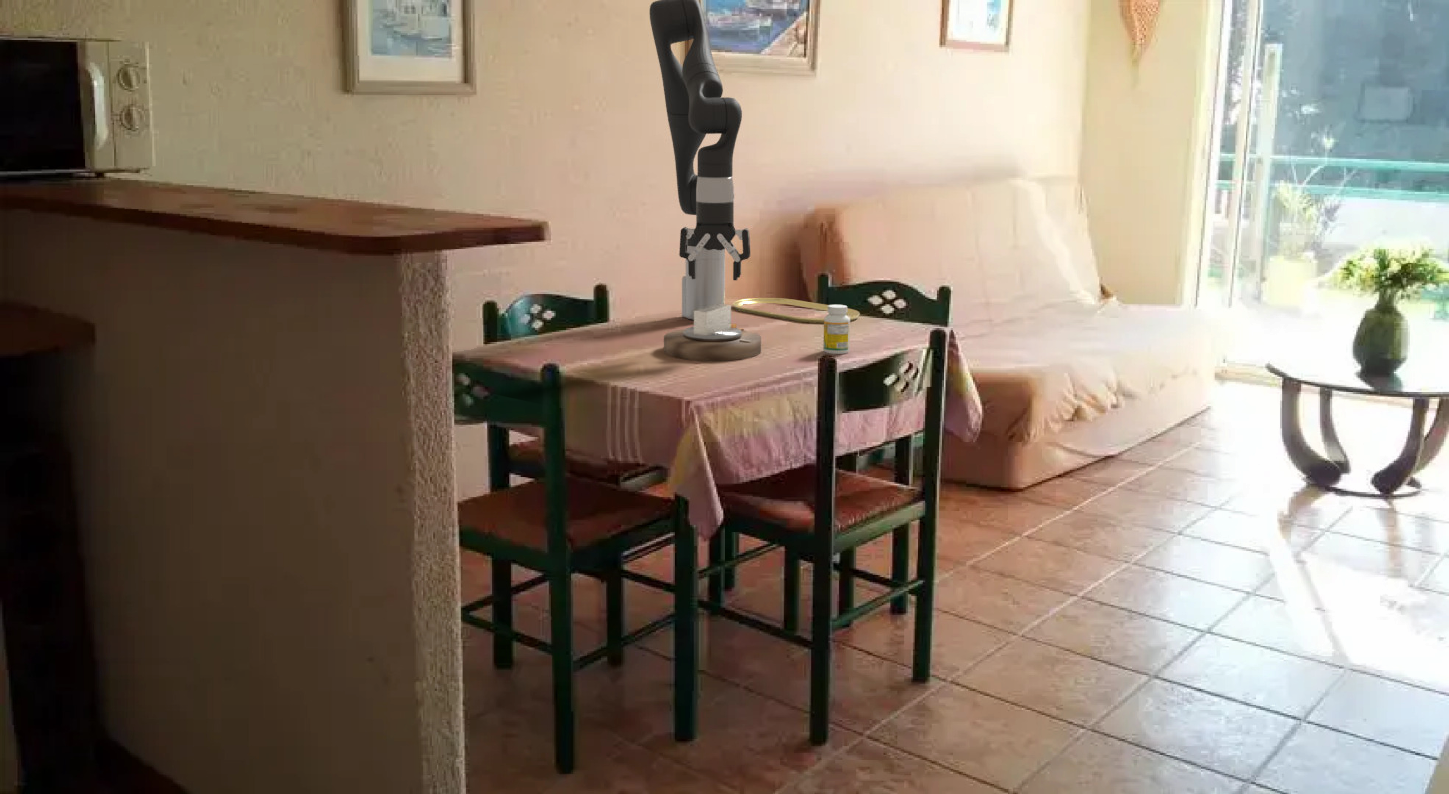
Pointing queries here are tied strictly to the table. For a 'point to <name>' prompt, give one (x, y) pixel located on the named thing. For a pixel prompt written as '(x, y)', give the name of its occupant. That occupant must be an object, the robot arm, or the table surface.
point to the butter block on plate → (713, 325)
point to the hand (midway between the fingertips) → (714, 279)
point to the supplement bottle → (836, 330)
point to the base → (712, 347)
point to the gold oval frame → (790, 302)
